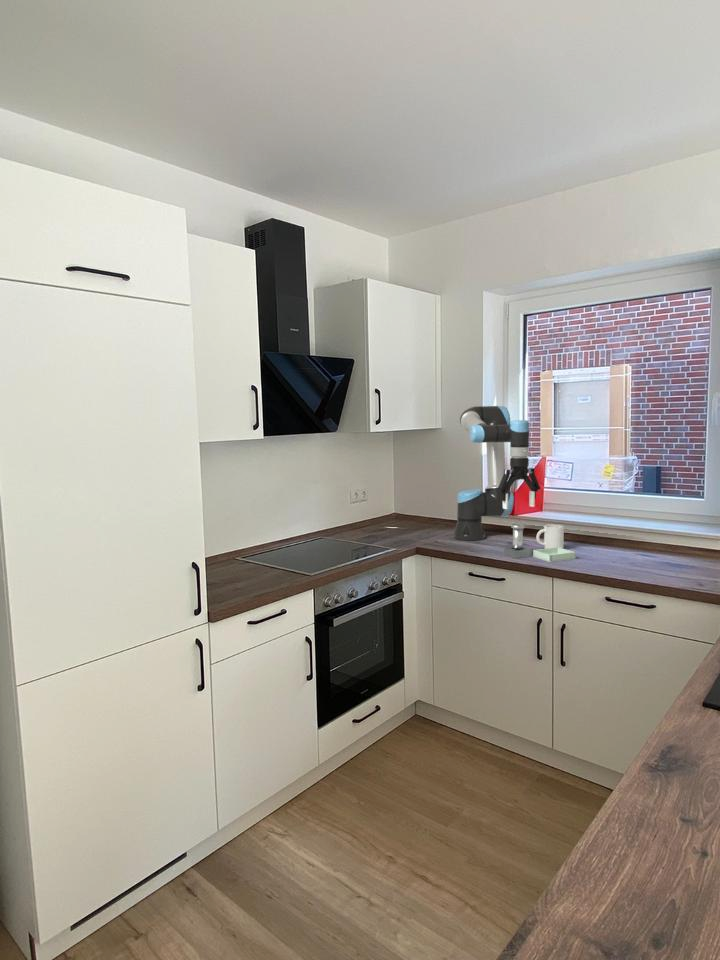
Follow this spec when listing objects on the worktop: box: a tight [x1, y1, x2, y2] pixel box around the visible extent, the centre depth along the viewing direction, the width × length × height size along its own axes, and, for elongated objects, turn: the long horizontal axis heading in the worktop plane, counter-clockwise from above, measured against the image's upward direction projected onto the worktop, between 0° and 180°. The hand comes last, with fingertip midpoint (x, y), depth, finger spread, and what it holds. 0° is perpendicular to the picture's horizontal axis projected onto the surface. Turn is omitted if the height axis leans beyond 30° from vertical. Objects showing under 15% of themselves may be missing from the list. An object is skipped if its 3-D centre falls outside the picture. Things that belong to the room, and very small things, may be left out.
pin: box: [510, 523, 526, 550], centre depth 262 cm, size 6×6×13 cm
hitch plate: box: [503, 546, 532, 559], centre depth 262 cm, size 8×8×3 cm
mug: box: [535, 523, 565, 549], centre depth 274 cm, size 12×8×10 cm
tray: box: [532, 547, 577, 563], centre depth 257 cm, size 11×13×3 cm
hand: (518, 507), depth 260 cm, fingers open, 13 cm apart
